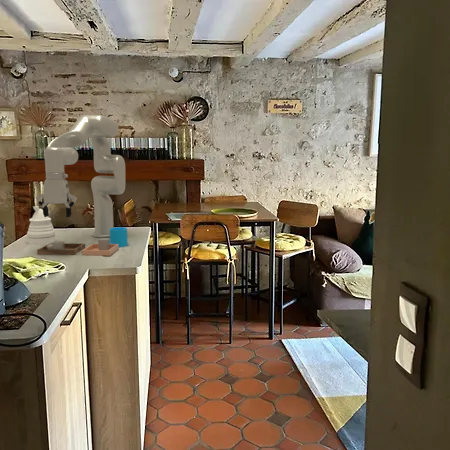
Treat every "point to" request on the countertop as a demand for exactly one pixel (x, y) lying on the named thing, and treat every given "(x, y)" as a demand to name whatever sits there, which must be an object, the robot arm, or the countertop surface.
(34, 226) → the honey pot
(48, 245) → the pebble
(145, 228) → the countertop surface
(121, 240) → the mug
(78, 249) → the tray
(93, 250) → the tray
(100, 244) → the stone
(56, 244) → the stone
